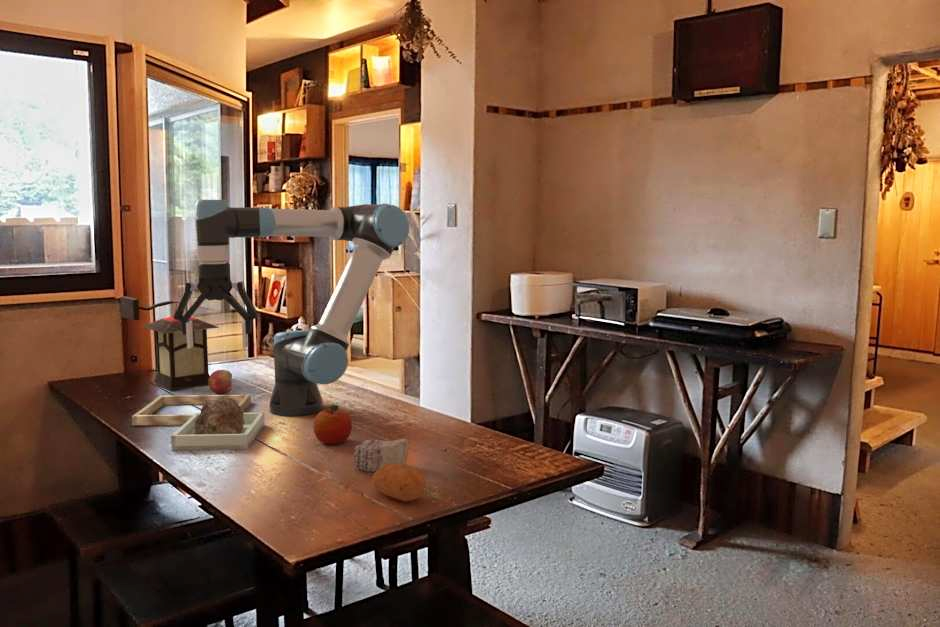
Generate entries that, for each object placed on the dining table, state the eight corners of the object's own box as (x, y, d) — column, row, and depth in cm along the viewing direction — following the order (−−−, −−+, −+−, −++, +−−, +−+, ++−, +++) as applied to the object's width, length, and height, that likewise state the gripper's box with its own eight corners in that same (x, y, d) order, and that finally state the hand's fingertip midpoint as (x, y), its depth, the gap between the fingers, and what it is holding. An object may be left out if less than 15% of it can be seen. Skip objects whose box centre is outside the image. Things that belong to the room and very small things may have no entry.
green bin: (264, 425, 211) (264, 412, 210) (247, 449, 190) (247, 434, 190) (196, 426, 210) (195, 413, 209) (171, 450, 189) (170, 436, 188)
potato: (402, 511, 151) (402, 476, 150) (365, 493, 161) (365, 459, 160) (432, 502, 156) (431, 468, 155) (394, 485, 166) (394, 452, 165)
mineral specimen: (400, 458, 184) (400, 432, 183) (411, 467, 177) (411, 440, 176) (347, 465, 178) (347, 439, 178) (356, 475, 172) (356, 447, 171)
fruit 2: (347, 435, 202) (347, 397, 201) (356, 445, 193) (355, 406, 192) (310, 439, 198) (309, 400, 197) (317, 449, 190) (316, 409, 188)
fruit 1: (227, 398, 240) (226, 373, 239) (203, 397, 241) (202, 372, 240) (238, 392, 248) (237, 367, 247) (215, 391, 249) (214, 367, 248)
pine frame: (250, 402, 235) (250, 394, 235) (232, 423, 212) (232, 414, 212) (160, 403, 233) (160, 395, 233) (132, 425, 210) (131, 416, 210)
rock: (187, 437, 200) (200, 446, 192) (183, 404, 198) (195, 412, 190) (242, 423, 208) (257, 432, 200) (239, 392, 206) (253, 399, 198)
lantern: (121, 387, 254) (115, 295, 250) (198, 376, 272) (194, 290, 268) (141, 397, 241) (136, 300, 237) (222, 385, 258) (218, 294, 254)
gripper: (268, 261, 199) (271, 343, 201) (167, 261, 197) (171, 345, 200) (262, 263, 191) (265, 349, 194) (157, 264, 189) (162, 350, 192)
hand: (218, 347), depth 197 cm, fingers open, 13 cm apart
